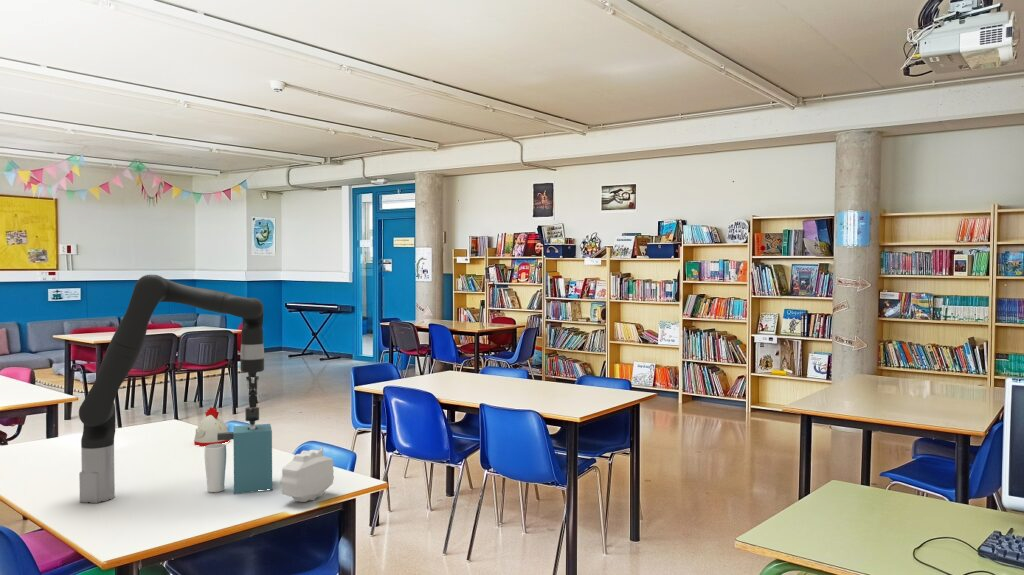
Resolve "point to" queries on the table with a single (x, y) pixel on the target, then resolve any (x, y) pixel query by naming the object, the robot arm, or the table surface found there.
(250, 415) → the plunger
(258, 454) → the dispenser
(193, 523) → the table surface
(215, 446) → the drinking glass
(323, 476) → the white stepped block
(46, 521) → the table surface
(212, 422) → the kitchen timer
